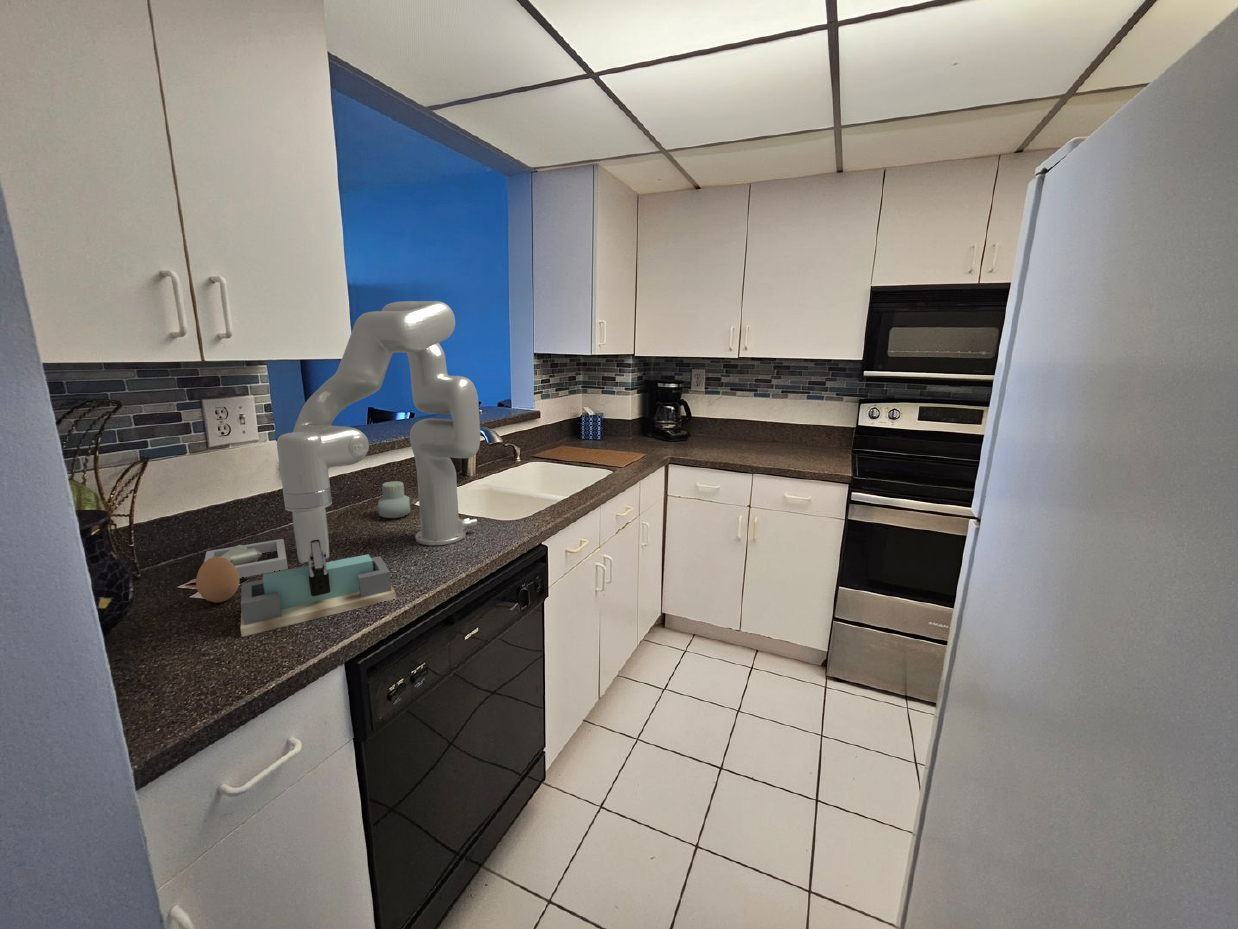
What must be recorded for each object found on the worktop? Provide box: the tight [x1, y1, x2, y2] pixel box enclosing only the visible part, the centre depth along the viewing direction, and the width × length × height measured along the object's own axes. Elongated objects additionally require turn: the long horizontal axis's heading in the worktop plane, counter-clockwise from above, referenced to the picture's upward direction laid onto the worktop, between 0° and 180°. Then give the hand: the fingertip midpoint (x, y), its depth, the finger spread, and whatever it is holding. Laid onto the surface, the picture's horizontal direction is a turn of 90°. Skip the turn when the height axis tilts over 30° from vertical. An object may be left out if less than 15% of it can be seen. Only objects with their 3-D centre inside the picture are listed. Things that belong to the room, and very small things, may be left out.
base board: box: [240, 584, 397, 638], centre depth 100 cm, size 25×12×2 cm, turn 125°
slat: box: [262, 553, 373, 610], centre depth 100 cm, size 18×4×6 cm, turn 125°
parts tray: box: [203, 538, 289, 579], centre depth 117 cm, size 15×15×2 cm
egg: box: [195, 557, 240, 604], centre depth 100 cm, size 7×7×9 cm
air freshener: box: [377, 480, 411, 519], centre depth 153 cm, size 11×8×10 cm
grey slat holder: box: [240, 555, 392, 625], centre depth 99 cm, size 24×10×4 cm, turn 125°
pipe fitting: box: [220, 544, 263, 566], centre depth 117 cm, size 8×4×7 cm
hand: (319, 587), depth 99 cm, fingers open, 4 cm apart
